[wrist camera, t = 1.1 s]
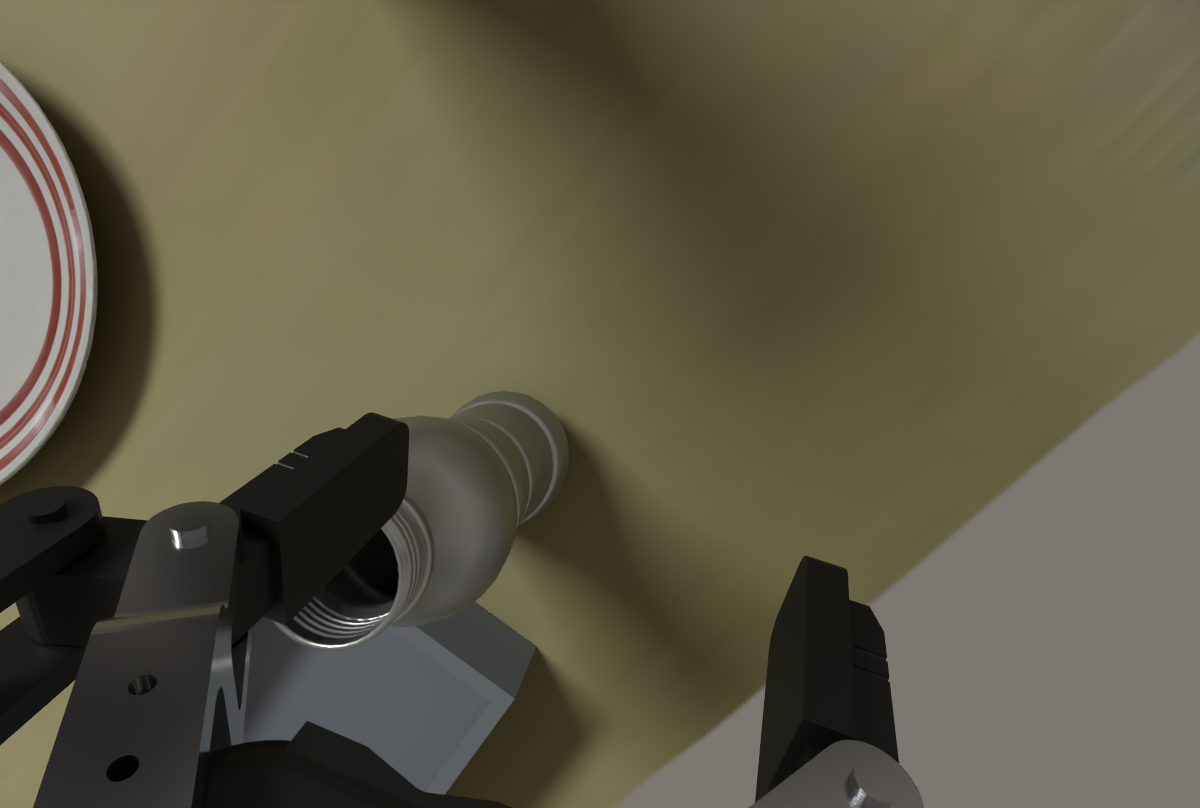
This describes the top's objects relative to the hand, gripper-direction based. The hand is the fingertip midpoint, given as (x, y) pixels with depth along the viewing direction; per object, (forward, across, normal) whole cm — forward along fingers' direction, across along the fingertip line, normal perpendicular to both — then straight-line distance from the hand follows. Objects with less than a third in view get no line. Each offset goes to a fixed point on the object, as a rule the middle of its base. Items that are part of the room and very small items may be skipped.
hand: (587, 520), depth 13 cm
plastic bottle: (+18, +8, +12) cm, 23 cm away
